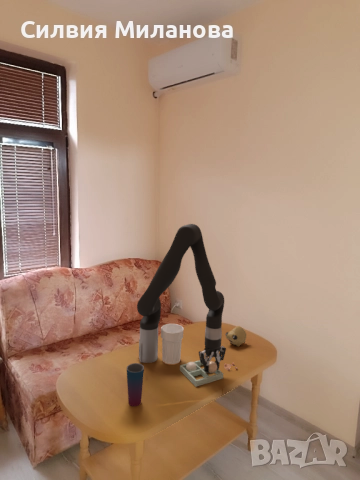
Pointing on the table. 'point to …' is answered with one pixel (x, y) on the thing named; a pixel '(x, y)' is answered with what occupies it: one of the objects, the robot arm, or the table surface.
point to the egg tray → (200, 372)
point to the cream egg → (191, 366)
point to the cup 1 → (135, 383)
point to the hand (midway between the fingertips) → (211, 370)
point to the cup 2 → (171, 343)
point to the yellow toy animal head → (236, 336)
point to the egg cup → (229, 366)
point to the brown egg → (212, 367)
